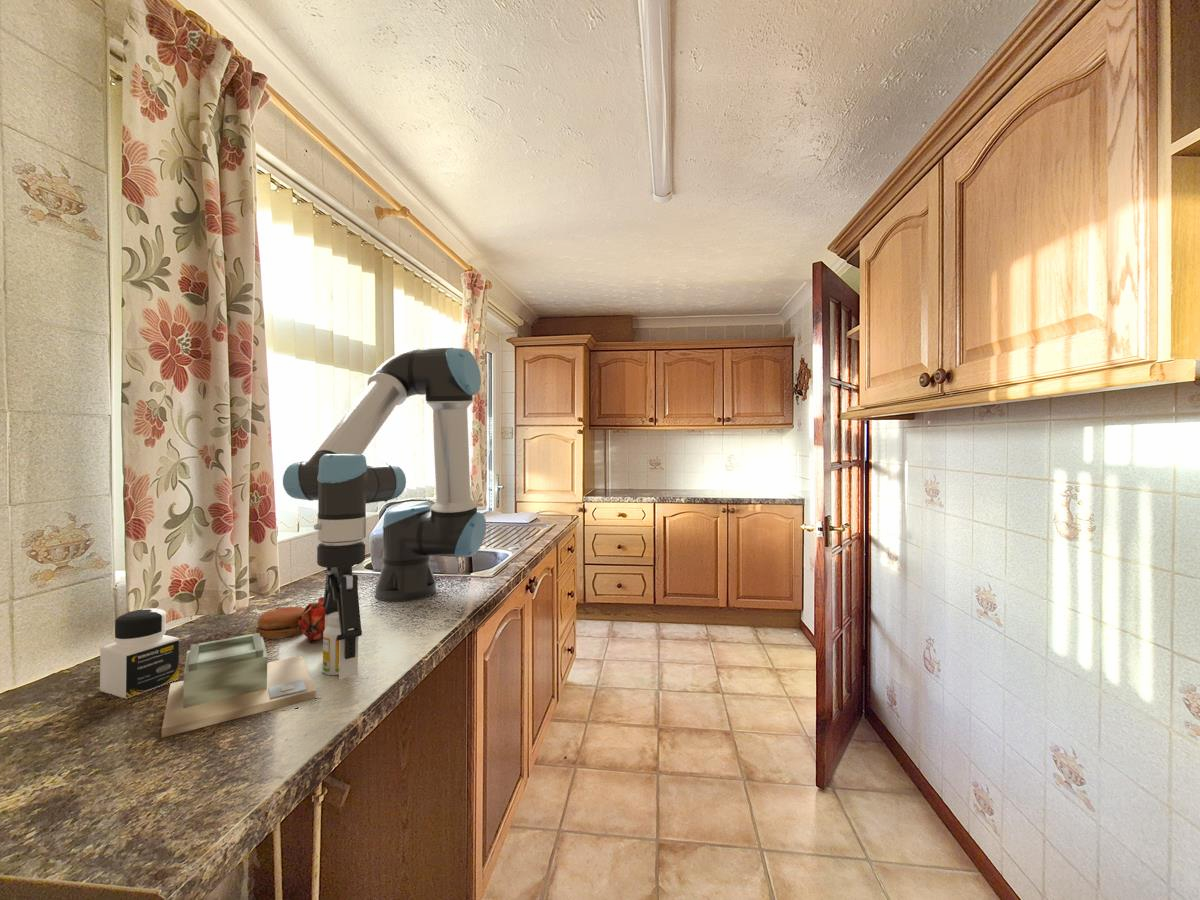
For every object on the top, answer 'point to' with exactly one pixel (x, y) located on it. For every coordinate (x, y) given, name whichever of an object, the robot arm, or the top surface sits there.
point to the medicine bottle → (139, 655)
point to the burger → (280, 622)
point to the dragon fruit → (313, 621)
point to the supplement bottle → (331, 645)
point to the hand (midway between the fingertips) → (340, 662)
